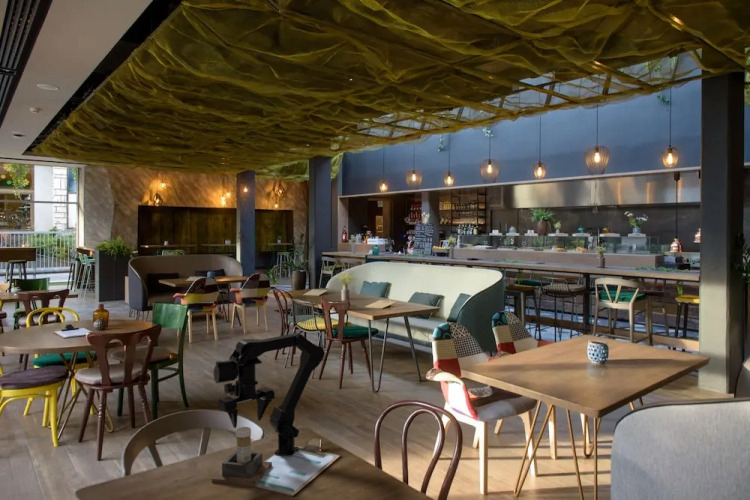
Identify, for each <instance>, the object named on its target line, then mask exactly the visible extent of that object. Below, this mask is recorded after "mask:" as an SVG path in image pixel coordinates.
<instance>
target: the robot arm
mask: <svg viewBox="0 0 750 500" xmlns="http://www.w3.org/2000/svg"><path fill="white" fill-rule="evenodd" d="M292 347H296V348H297V349H298V350H300V352H301V353H300V357H299V367H298V368H297V371H296V373H295V376H294V378H293V380H292V382H291V384H290V387H289V389H288V391H287V393H286V396H285V398H284V400H283V402H282V403H281V404H280V405H279V406H273V409H272V412H271V414H270V415H269V425H270V427H271V428H272V430H273V429H274V431H275V432H276V433H277V449H276V451H274V455H278V456H288V455H291V456H294V454H295V453H296V452H297V450H298V449H299V446H295V445H296V443H295V441H296V440H295V439H296V438H297V437H298V436H299V433H300V430H299V429H298V428H296V427H295V426H294V422H295V418H296V417H295V416H296V413H295V411H296V408H297V405H298V403H299V402H300V398H301V397H302V395H303V392H304V391H305V387H306V386H307V383H308V382H309V379H310V377H311V375H312V373H313V371H314V370H315V369H316V368H318V367H319V365H320V364H321V363H322V361H323V359H324V357H325V353H326V352H325V351H324V348H323V347H321V346H320V345H318V344H315V343H313V342H311V341H310V340H309V339H307V337H305V336H304V335H303V334H301V333H299V332H293V333H290V334H283V335H279V336H273V337H269V338H263V339H259V338H258V339H257V338H242V339H240V340H239V341H238V342H237V343H236V344H235V349H234V351H233V352H232V353H231V355H230V357H228V360H219V361H216V362H215V366H214V370H213V380H214V382H215V383H216V384H221V383H225V384H224V387H223V388H224V394H225V395H226V394H227V395H228V394H229V396H225V397H222V398H219V399H218V401H217V408H218V409H220V410H222V411H224V412H226V413H227V415H228V417H229V420H230V422H231V424H232V427H233V428H234V429H237V427H238V426H237V425H238V415H239V414H238V411H239V410H238V409H237V407H238V404H239V405H240V404H244V403H247V402H250V401H254V400H256V403H257V404H256V405H257V421H261V420H262V419H263V417H264V413H265V411H266V410H267V408H268V406H269V404H270V403H271V402H272V401H273V399H276V392H275V390H274V389H272V388H269V387H267V386H266V387H265V386H264V387H262V388H257V387H256V386H257V385H258V383H259V382H258V381H257V380H256V365H259V364H262V362H263V361H262V360H260V359H259V358H258V357H260V356H262V355H264V354H265V353H267V352H273V351H276V350H282V349H286V348H292ZM236 379H237V380H236ZM234 381H235V384H233V383H232V382H234ZM228 382H229V383H228ZM230 396H234V397H235V398H232V397H230ZM295 451H296V452H295ZM291 456H290V457H291Z"/></svg>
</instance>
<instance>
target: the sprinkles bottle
mask: <svg viewBox="0 0 750 500" xmlns="http://www.w3.org/2000/svg"><path fill="white" fill-rule="evenodd" d="M235 430H236V431H235V436H236V450H237V463H244V464H249V463H250V461H251V452H252V448H251V447H252V444H251V443H252V441H251V436H252V429H251V427H248V426H241V427H238V428H236V429H235Z"/></svg>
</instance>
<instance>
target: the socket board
mask: <svg viewBox="0 0 750 500" xmlns="http://www.w3.org/2000/svg"><path fill="white" fill-rule="evenodd" d="M272 465H273V462H272V461H265V460H264V461H263V452H257V451H251V461H250V463H249V464H244V463H237V449H236V450H234V451H233V452H232V453H231V454H230V455H229V456H228V457H227V458H226V459H225V460H224V461H222V463H221V469H220V470H219V471H218V472H217V473H216V474H215V475H214V476H213V477H212V478H211V483H213V484H214V483H215V484H224V485H232V486H233V485H234V486H242V487H243V486H244V487H254V488H255V487H256V485H257V484H258V483H259V480H260V481H261V479H262V478H264V476H265V475H264V474H266V473H267V472H268V471H269V470H270V469H271V468H272ZM269 468H270V469H269ZM268 469H269V470H268Z"/></svg>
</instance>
